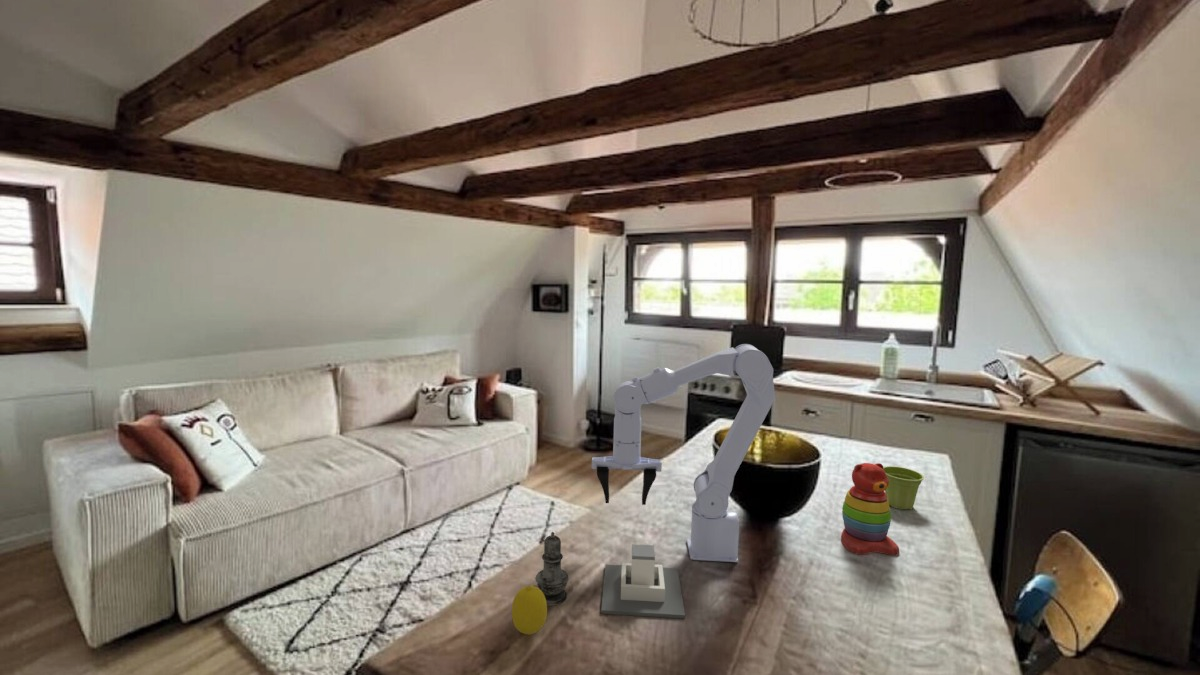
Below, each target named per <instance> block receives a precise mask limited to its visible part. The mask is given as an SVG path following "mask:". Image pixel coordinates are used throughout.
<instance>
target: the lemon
mask: <svg viewBox="0 0 1200 675" xmlns="http://www.w3.org/2000/svg"><path fill="white" fill-rule="evenodd" d="M547 616H548V605H547V603H546V598H545V596H544V594H543V592H542V591H541V590H540V589H539V587H538V586H537V587H536V586H535V585H526V586H524V587H521V589H520V590H518V591H517V593H516V594H515V595H514V598H513V600H512V605H511V619H512V622H513V625H514V627H515V629H516V630H518V632H520V633H521V634H525V635H528V636H530V635H532V634H535V633H537V632H539V631H540V630H541V629H542V627H543V626H544V625H545V622H546V620H547Z"/></svg>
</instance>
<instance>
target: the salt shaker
mask: <svg viewBox="0 0 1200 675" xmlns="http://www.w3.org/2000/svg"><path fill="white" fill-rule="evenodd" d="M543 545H544V547H543V550H544V551H543V552H544V553H543V554H542V555H541V558H542V561H543V569H542V570H540V571H539V572H537V574H535V577H534V578H535V582H536V583H537V585H536V586H537V588H539V589H540V590H541V591H542V592H543V594H544V596H545V598H546V603H547V606H557V605H560V604H563V602H565V601H566V599H567V596H568V594H567V591H566V590H565V588H566V586H567V583H568V581H569V579H570V577H569V574H568V571H565V569H562V560H563V558H564V557H563V556H564V555H563V554H562V553H561V552H562V551H561V549H562V548H561V547H562V546H561V545H562V544H561V538H560V537H559V536H557V535H555V532H554V531H551V533H550V535H549V536H547V537H545V539H544V543H543Z"/></svg>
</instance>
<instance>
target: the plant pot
mask: <svg viewBox="0 0 1200 675" xmlns="http://www.w3.org/2000/svg"><path fill="white" fill-rule="evenodd" d="M883 470H884V472H885V473H886V475H887V477H888V480H889V484H888V487H887V488H886V490H885V491H884V492H885V493H886V495H887V499H888V501H889V506H890V507H891V508H894V507H895V508H894V509H897V508H899V509H898V510H901V509H906V510H912V508H914V506H915V501H916V499H917V495H918V490H919V489H920V488H919V487H920V485H921V483H922V481H923V480H924V479H925V477H924V475H923V474H922V473H920V472H918V471H916V470H913V469H911V468H906V467H903V466H895V465H894V466H891V465H890V466H883Z"/></svg>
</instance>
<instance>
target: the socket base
mask: <svg viewBox="0 0 1200 675" xmlns="http://www.w3.org/2000/svg"><path fill="white" fill-rule="evenodd" d="M681 587H682V586H681V580H680V575H679V569H678V568H676V567H664V566H663V564H658V563H657V564H656V563H655V569H654V586H651V585H633V584H631V562H621V564H607V563H606V564H605V568H604V577H603V589H602V599H601V610H600V612H601V614H604V615H605V614H606V615H618V616H634V617H636V616H637V617H653V618H654V617H655V618H667V619H669V618H670V619H671V618H672V619H686V612H685V607H684V600H683V593H682V588H681Z"/></svg>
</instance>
